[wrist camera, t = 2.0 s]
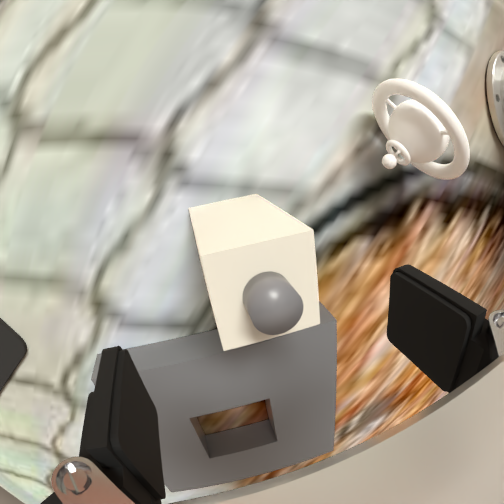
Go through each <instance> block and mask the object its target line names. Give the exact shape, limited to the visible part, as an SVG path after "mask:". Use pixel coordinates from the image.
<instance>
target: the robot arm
mask: <svg viewBox="0 0 504 504" xmlns="http://www.w3.org/2000/svg"><path fill="white" fill-rule="evenodd" d="M486 83H487V98H488V104H489V110H490V114H491V118H492V122H493V125H494V128H495V131H496V133H497V135H498V137H499V140H500V141H501V143H502V145H503V146H504V50H502V51H497V52H495V53H494V54H493V55H492V56H491V59H490V61H489V64H488V68H487V78H486ZM486 311H487V309H485V308H483V307H482V306H480V305H478V304H477V303H475V302H473V301H472V300H470V299H468V298H467V297H465V296H463V295H462V294H460V293H458V292H457V291H455V290H453V289H452V288H450V287H448V286H446V285H445V284H443V283H441V282H439V281H438V280H436V279H434V278H432V277H431V276H429V275H427V274H425V273H424V272H422V271H420V270H418V269H416V268H415V267H413V266H411V265H404V266H401V267H399V268H396V269H395V270H394V271H393V274H392V275H391V278H390V298H389V313H388V325H387V337H388V339H389V341H390V342H391V343H392V344H393V345H394V346H395V347H396V348H397V349H399V350H400V351H401V352H402V353H403V354H404V355H405V356H406V357H407V358H408V359H409V360H411V361H412V362H413V363H414V364H415V365H416V366H417V367H418V368H419V369H420V370H421V371H422V372H424V373H425V374H426V375H427V376H428V377H429V378H430V379H431V380H432V381H433V382H434V383H435V384H436V385H438V386H439V387H440V388H441V389H442V390H443V391H447V392H449V394H447V395H446V396H444V397H443V398H441V399H440V400H438V401H437V402H435V403H433V404H432V405H430V406H429V407H427V408H425V409H424V410H422V411H420V412H419V413H417V414H415V415H414V416H412V417H410V418H409V419H407V420H405V421H403V422H402V423H400V424H398V425H396V426H394V427H392V428H391V429H389V430H387V431H385V432H383V433H381V434H379V435H377V436H375V437H373V438H371V439H369V440H367V441H365V442H363V443H361V444H359V445H356V446H354V447H352V448H350V449H348V450H345V451H343V452H341V453H339V454H336V455H334V456H332V457H329V458H327V459H324V460H322V461H319V462H317V463H314V464H312V465H309V466H307V467H304V468H301V469H298V470H296V471H293V472H290V473H287V474H284V475H281V476H278V477H275V478H272V479H268V480H265V481H262V482H258V483H255V484H251V485H248V486H244V487H241V488H237V489H233V490H229V491H225V492H221V493H217V494H213V495H208V496H204V497H199V498H194V499H189V500H184V501H179V502H175V503H170V504H504V310H496V311H494V312H492V313H491V314H490V316H489V319H488V320H487V319H485V316H486ZM51 483H52V488H53V490H54V493H52V494H51V495H50V496H49V497H48V498H47V499H45V500H44V501H43V502H42V503H41V504H161V499H165V496H166V494H165V486H164V478H163V469H162V460H161V450H160V439H159V426H158V414H157V410H156V407H155V405H154V403H153V401H152V399H151V397H150V395H149V393H148V391H147V389H146V387H145V385H144V383H143V381H142V379H141V377H140V375H139V373H138V371H137V369H136V367H135V365H134V362H133V360H132V358H131V356H130V354H129V352H128V350H127V349H125V350H122V348H121V347H120V346H117V347H112V348H107V349H103V351H102V355H101V359H100V364H99V369H98V374H97V379H96V385H95V390H94V392H91V393H90V394H89V397H88V401H87V407H86V413H85V419H84V425H83V431H82V438H81V445H80V453H79V457H71V458H67V459H66V460H64V461H62V462H61V463H60V464H59V465H58V466H57V467H56V468H55V470H54V471H53V474H52V478H51Z"/></svg>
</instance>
